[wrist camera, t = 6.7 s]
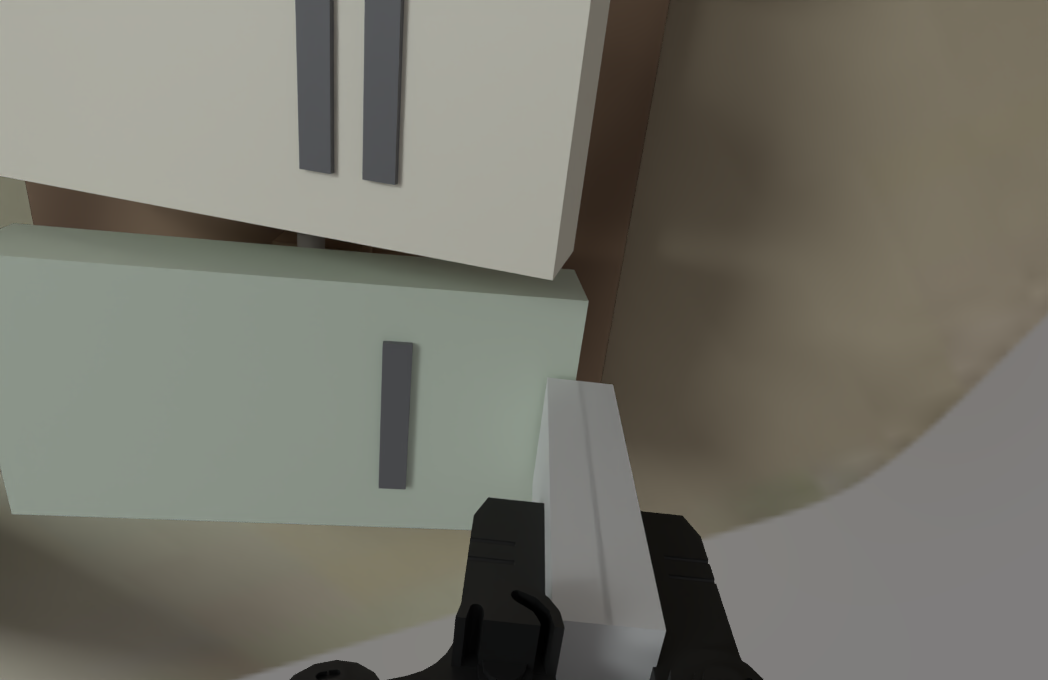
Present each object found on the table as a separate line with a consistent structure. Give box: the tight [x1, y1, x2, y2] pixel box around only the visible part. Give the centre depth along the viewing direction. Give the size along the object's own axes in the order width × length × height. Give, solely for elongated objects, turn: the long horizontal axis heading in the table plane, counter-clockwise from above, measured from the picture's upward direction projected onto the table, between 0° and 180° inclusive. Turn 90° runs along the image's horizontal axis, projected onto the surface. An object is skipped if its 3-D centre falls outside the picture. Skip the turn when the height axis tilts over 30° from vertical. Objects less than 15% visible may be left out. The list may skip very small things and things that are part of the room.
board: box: [25, 0, 670, 383], centre depth 15 cm, size 15×22×3 cm
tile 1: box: [0, 223, 589, 530], centre depth 15 cm, size 12×6×2 cm, turn 84°
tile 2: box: [0, 0, 610, 280], centre depth 12 cm, size 12×6×2 cm, turn 83°
